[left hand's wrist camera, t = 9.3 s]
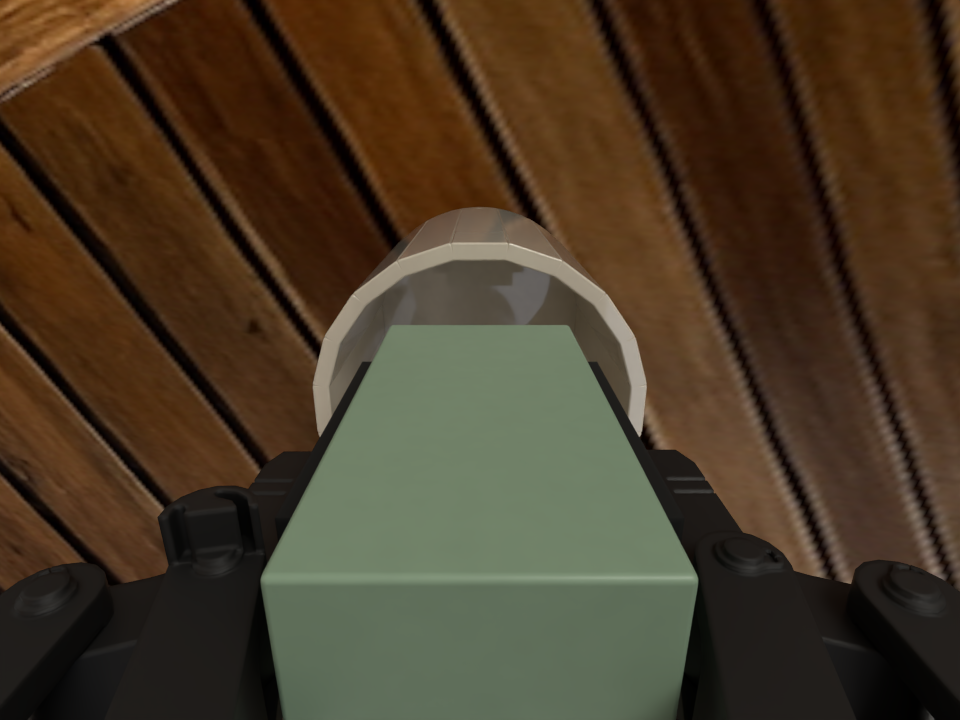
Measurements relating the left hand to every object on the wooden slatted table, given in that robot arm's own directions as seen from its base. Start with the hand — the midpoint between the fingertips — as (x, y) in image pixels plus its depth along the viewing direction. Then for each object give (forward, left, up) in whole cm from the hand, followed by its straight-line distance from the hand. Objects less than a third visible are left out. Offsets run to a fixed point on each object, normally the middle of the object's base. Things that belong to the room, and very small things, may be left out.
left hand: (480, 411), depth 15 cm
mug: (-4, +2, -13) cm, 14 cm away
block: (0, 0, 0) cm, 0 cm away
